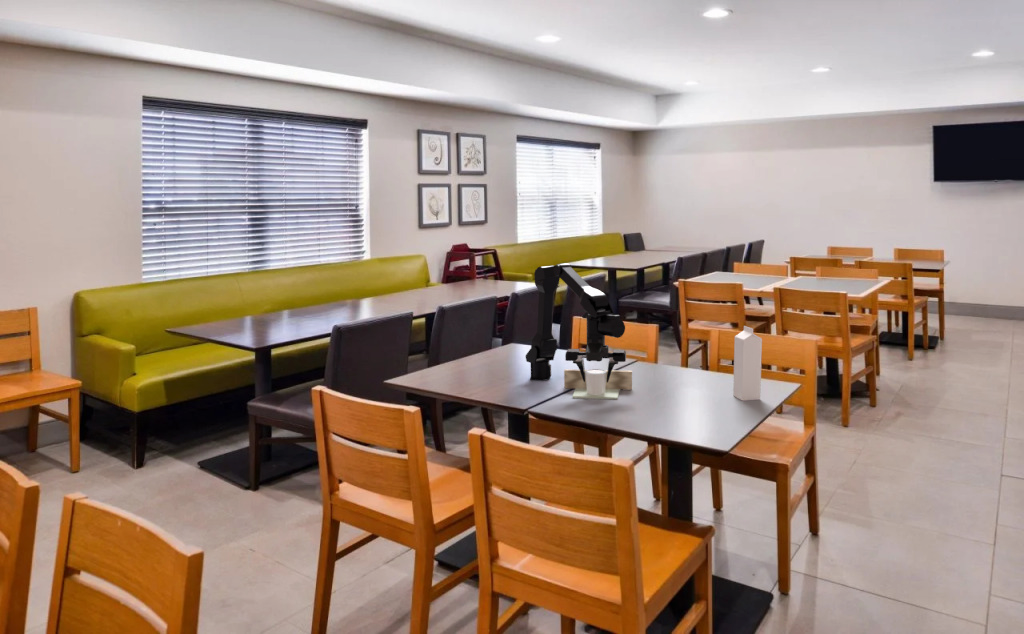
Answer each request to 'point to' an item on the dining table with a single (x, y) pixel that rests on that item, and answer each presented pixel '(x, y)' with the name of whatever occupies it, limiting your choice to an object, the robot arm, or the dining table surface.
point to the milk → (747, 365)
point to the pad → (607, 395)
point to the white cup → (595, 381)
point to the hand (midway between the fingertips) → (595, 381)
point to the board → (616, 379)
